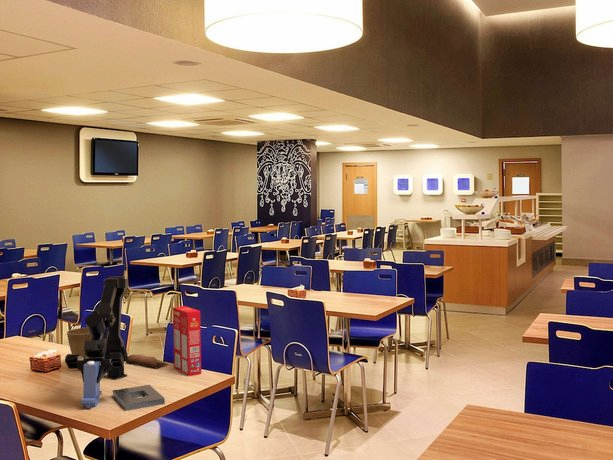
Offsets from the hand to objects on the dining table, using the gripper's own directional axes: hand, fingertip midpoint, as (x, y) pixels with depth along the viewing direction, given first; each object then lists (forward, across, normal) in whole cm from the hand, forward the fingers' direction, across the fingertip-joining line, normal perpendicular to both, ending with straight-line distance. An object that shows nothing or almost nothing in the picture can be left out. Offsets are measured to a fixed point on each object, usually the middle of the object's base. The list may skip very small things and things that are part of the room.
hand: (90, 382), depth 214 cm
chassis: (+2, +14, +9) cm, 17 cm away
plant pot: (-28, -14, +39) cm, 50 cm away
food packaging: (-23, +27, +34) cm, 49 cm away
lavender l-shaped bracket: (+4, 0, +6) cm, 8 cm away
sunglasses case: (-31, +9, +43) cm, 54 cm away
